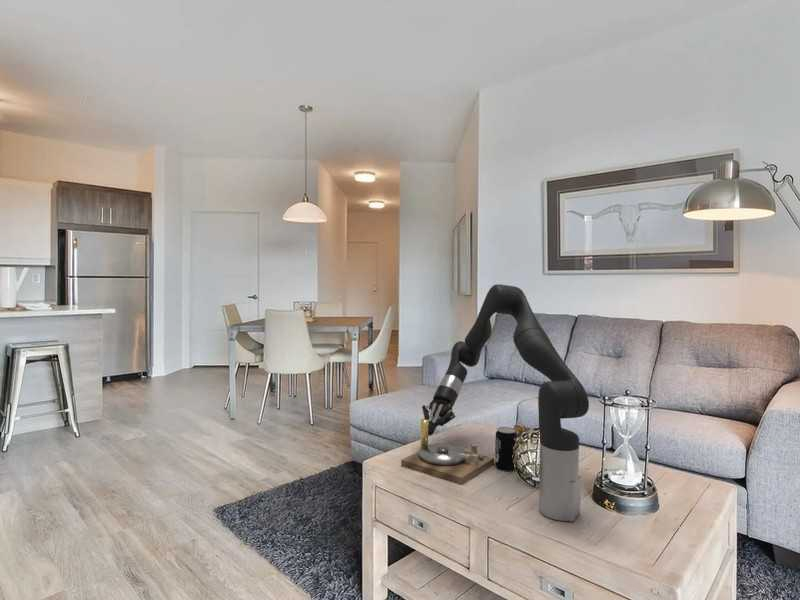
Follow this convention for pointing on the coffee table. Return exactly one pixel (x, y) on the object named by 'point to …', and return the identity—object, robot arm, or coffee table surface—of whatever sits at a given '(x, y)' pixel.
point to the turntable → (452, 466)
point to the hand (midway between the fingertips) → (427, 434)
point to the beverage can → (505, 448)
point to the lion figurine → (520, 429)
